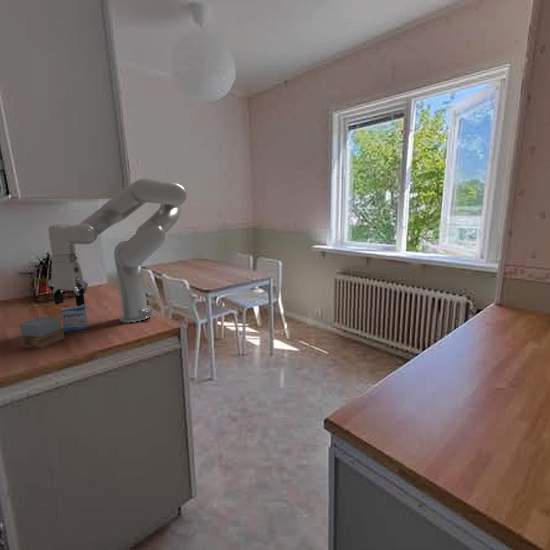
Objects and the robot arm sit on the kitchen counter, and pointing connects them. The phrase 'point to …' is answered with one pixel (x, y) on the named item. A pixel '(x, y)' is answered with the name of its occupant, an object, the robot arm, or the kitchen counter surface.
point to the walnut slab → (41, 339)
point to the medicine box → (74, 318)
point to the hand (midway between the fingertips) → (69, 304)
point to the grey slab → (40, 326)
